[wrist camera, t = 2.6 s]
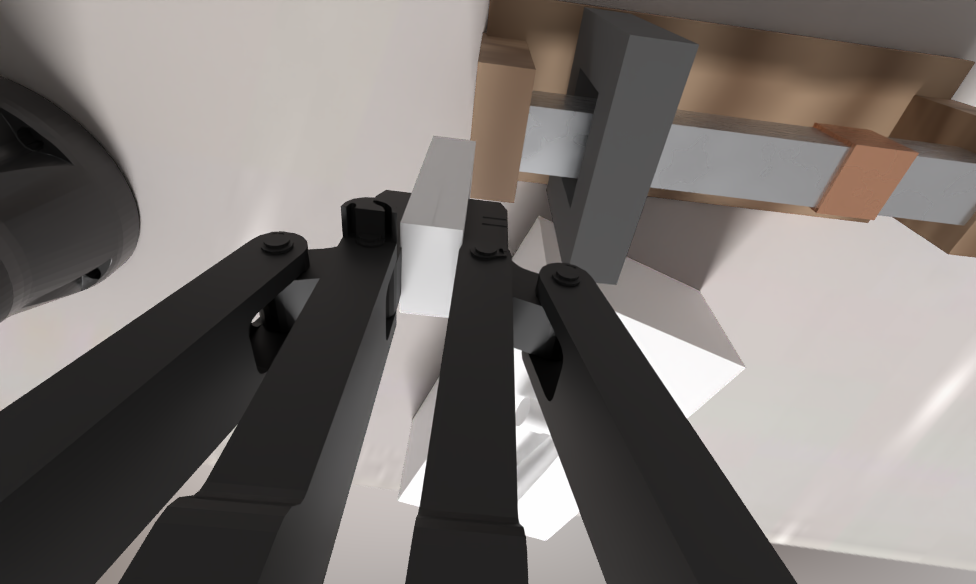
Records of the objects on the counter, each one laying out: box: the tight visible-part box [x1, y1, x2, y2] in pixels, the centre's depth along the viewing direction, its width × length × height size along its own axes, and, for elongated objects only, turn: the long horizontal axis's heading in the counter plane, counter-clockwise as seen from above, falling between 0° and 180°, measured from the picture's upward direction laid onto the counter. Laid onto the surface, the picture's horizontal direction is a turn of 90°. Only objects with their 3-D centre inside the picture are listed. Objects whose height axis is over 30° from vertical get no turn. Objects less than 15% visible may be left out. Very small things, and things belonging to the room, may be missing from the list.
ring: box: [546, 7, 699, 285], centre depth 23 cm, size 2×10×10 cm, turn 173°
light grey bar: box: [519, 90, 976, 226], centre depth 23 cm, size 25×3×3 cm, turn 83°
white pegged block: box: [398, 216, 746, 541], centre depth 37 cm, size 14×25×11 cm, turn 154°
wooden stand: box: [470, 0, 976, 257], centre depth 25 cm, size 27×10×9 cm, turn 83°
